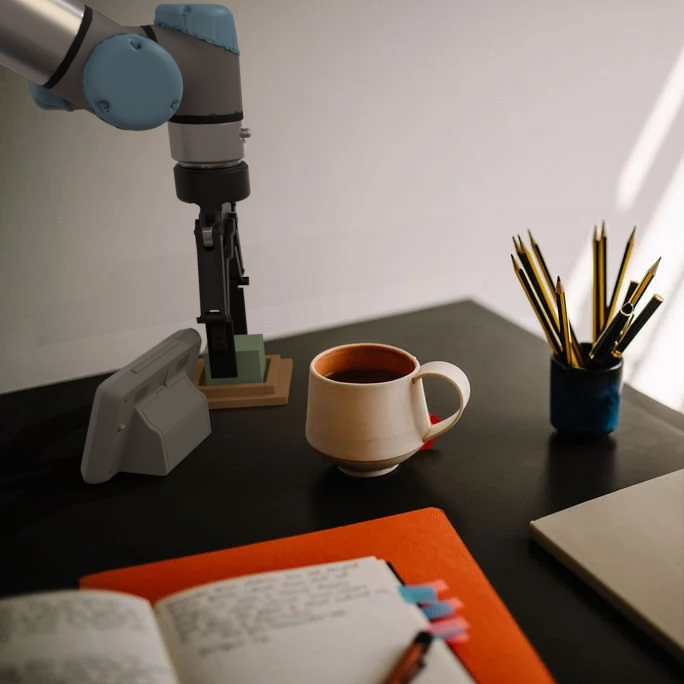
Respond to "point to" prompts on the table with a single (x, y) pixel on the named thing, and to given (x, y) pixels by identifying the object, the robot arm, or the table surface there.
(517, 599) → the table surface
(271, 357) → the socket pad
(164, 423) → the digital clock
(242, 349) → the green block
